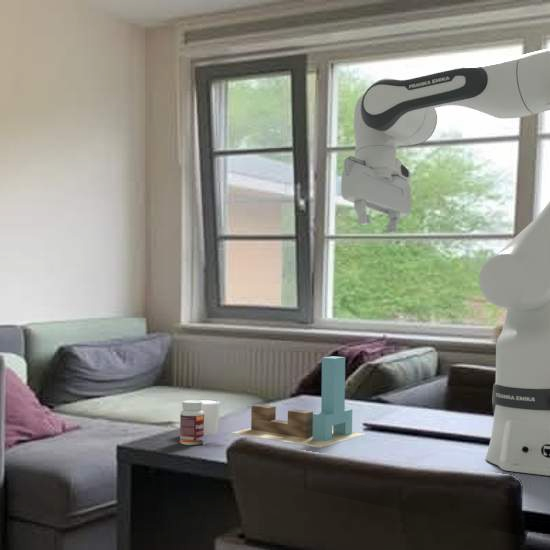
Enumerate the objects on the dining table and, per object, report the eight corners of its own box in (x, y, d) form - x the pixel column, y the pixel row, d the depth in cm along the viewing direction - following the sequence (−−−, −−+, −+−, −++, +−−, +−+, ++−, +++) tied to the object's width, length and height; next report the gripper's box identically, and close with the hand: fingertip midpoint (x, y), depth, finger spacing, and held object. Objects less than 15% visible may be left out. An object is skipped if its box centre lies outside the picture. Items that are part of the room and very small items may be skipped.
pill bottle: (199, 446, 155) (200, 403, 155) (176, 444, 156) (177, 402, 156) (206, 441, 160) (207, 400, 160) (184, 440, 161) (184, 399, 161)
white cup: (200, 430, 171) (200, 398, 171) (226, 433, 168) (227, 400, 168) (181, 435, 165) (181, 402, 165) (208, 439, 162) (208, 405, 162)
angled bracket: (351, 433, 162) (353, 356, 162) (325, 441, 154) (326, 359, 154) (339, 431, 164) (340, 355, 164) (312, 439, 156) (313, 358, 156)
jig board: (366, 441, 162) (366, 409, 162) (319, 455, 148) (320, 421, 148) (280, 427, 175) (281, 398, 175) (231, 439, 161) (231, 408, 161)
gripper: (356, 149, 157) (359, 215, 154) (415, 174, 172) (418, 235, 168) (332, 157, 162) (334, 221, 158) (391, 181, 176) (394, 240, 173)
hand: (378, 228), depth 164 cm, fingers open, 8 cm apart
